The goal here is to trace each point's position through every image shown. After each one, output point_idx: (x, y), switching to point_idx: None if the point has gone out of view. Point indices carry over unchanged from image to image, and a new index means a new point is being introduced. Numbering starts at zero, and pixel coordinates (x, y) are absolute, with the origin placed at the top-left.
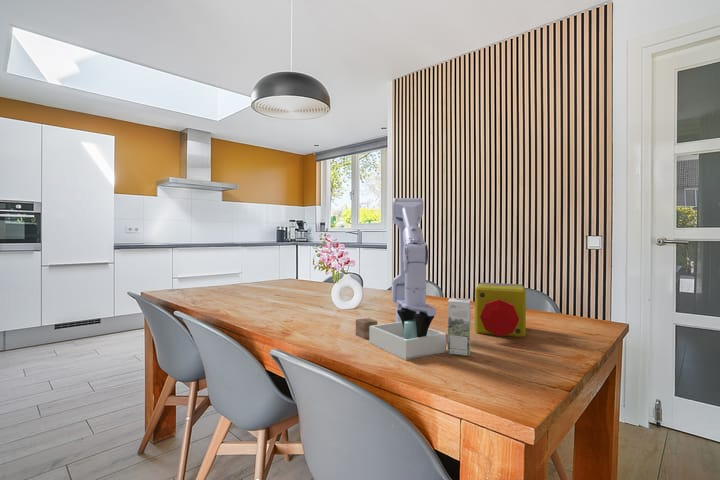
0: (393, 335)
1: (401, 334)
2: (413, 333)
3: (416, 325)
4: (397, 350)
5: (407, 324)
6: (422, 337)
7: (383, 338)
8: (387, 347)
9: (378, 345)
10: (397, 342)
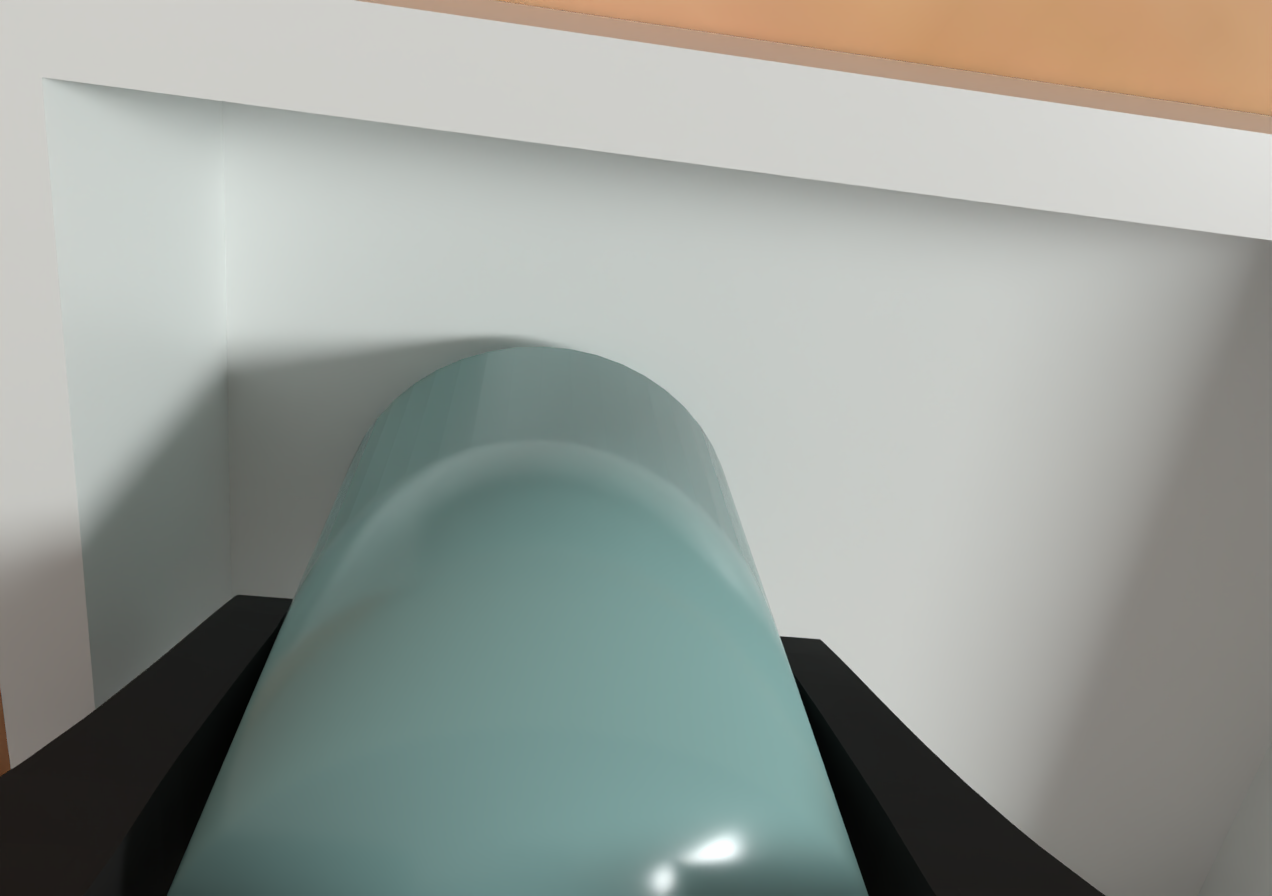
0: (712, 66)
1: (1250, 862)
2: (306, 604)
3: (104, 838)
4: (477, 3)
5: (473, 695)
6: (14, 633)
7: (1164, 110)
8: (902, 64)
9: (1244, 113)
10: (463, 9)
